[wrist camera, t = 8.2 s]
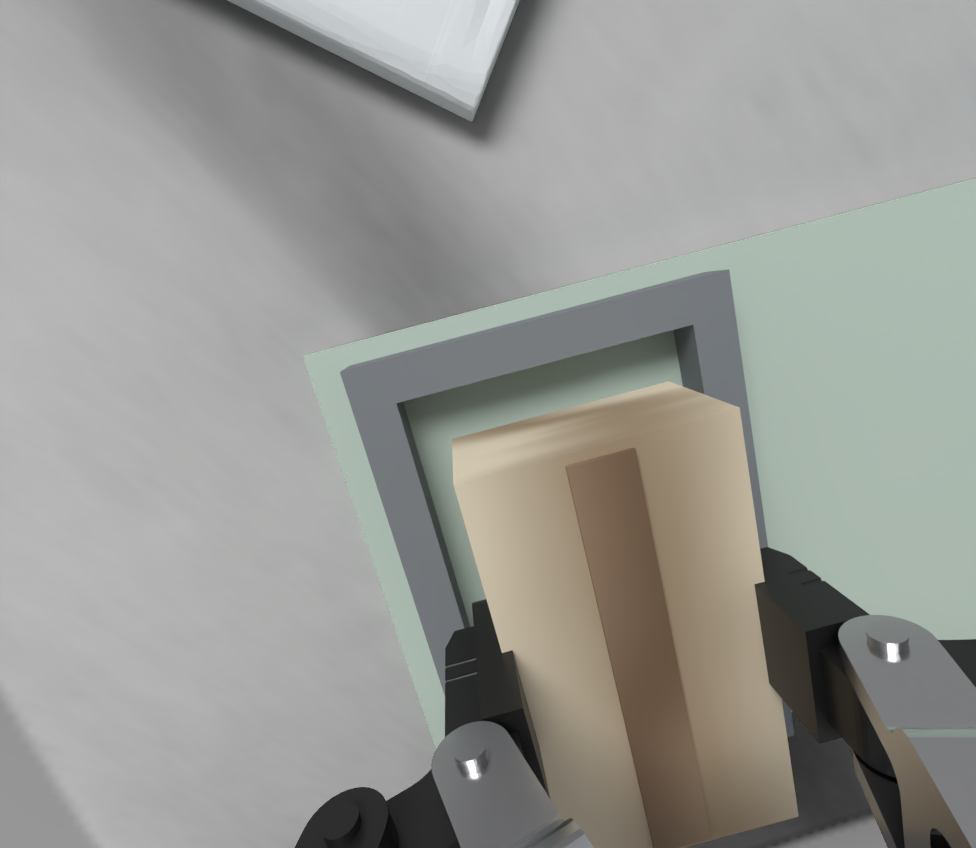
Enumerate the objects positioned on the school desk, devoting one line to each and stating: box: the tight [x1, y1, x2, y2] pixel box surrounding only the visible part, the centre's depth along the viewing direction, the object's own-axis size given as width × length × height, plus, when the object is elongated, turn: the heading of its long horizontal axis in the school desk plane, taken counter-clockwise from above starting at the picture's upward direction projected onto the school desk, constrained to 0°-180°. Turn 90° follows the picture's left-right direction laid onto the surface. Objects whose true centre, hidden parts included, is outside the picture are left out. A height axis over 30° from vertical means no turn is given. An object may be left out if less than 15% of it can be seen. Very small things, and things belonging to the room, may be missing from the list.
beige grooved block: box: [452, 381, 799, 848], centre depth 12 cm, size 5×9×3 cm, turn 14°
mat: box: [303, 178, 976, 749], centre depth 14 cm, size 14×22×2 cm, turn 104°
